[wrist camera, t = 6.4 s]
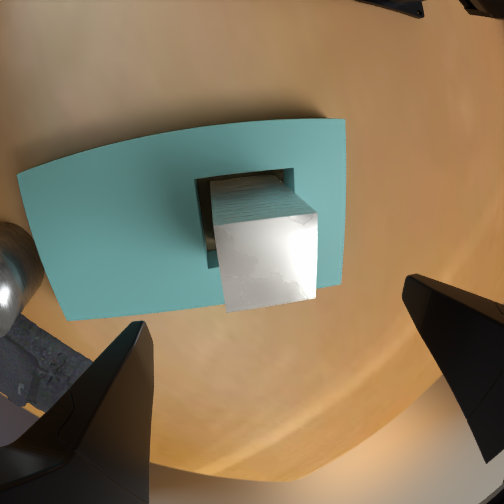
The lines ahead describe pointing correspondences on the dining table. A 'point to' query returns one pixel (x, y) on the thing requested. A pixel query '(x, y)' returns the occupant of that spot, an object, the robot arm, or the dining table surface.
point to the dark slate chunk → (37, 365)
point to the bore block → (171, 212)
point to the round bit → (17, 273)
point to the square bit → (263, 242)
